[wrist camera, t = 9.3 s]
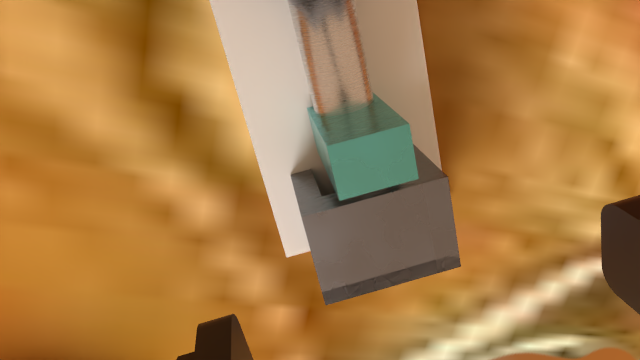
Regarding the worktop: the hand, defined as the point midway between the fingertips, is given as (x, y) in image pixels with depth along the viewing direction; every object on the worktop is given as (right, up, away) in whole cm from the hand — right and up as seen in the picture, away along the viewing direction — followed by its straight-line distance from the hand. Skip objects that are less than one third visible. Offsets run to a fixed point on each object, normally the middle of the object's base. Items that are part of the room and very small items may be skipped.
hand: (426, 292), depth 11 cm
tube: (-1, +7, +16) cm, 17 cm away
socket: (0, +2, +20) cm, 20 cm away
